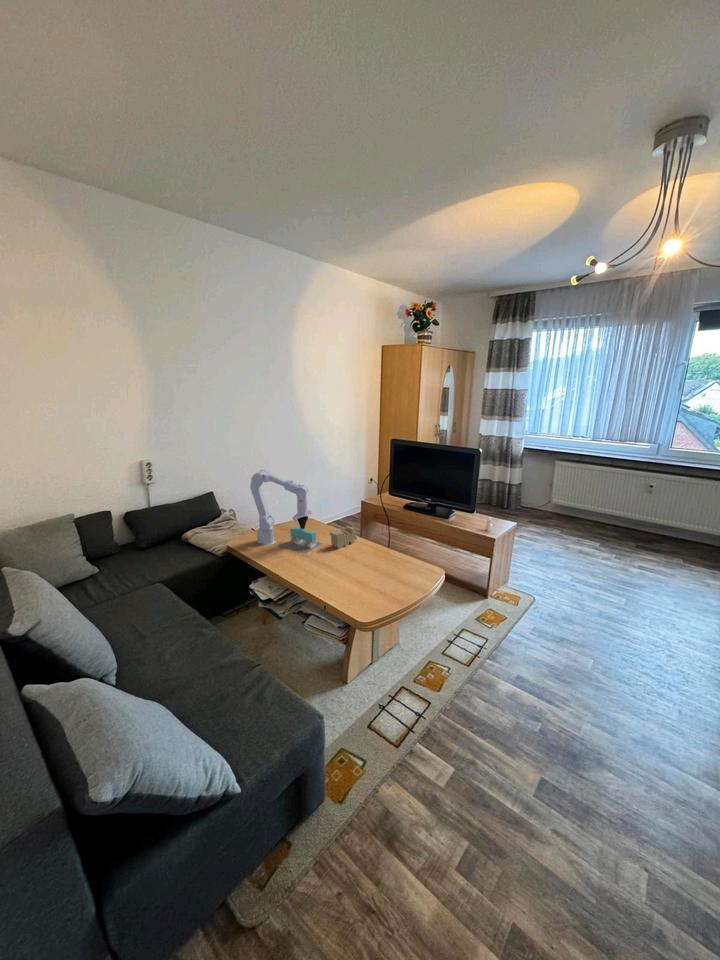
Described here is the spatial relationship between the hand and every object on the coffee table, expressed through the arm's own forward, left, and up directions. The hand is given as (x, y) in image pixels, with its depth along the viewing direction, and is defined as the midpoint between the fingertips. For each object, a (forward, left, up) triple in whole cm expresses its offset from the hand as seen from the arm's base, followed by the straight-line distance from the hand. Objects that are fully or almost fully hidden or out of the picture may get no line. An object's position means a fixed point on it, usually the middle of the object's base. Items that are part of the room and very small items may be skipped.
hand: (302, 528), depth 225 cm
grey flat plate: (+1, -1, -10) cm, 11 cm away
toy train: (+21, +13, -11) cm, 26 cm away
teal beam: (+1, 0, -6) cm, 6 cm away
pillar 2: (+6, 0, -10) cm, 11 cm away
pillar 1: (-4, 0, -10) cm, 11 cm away
